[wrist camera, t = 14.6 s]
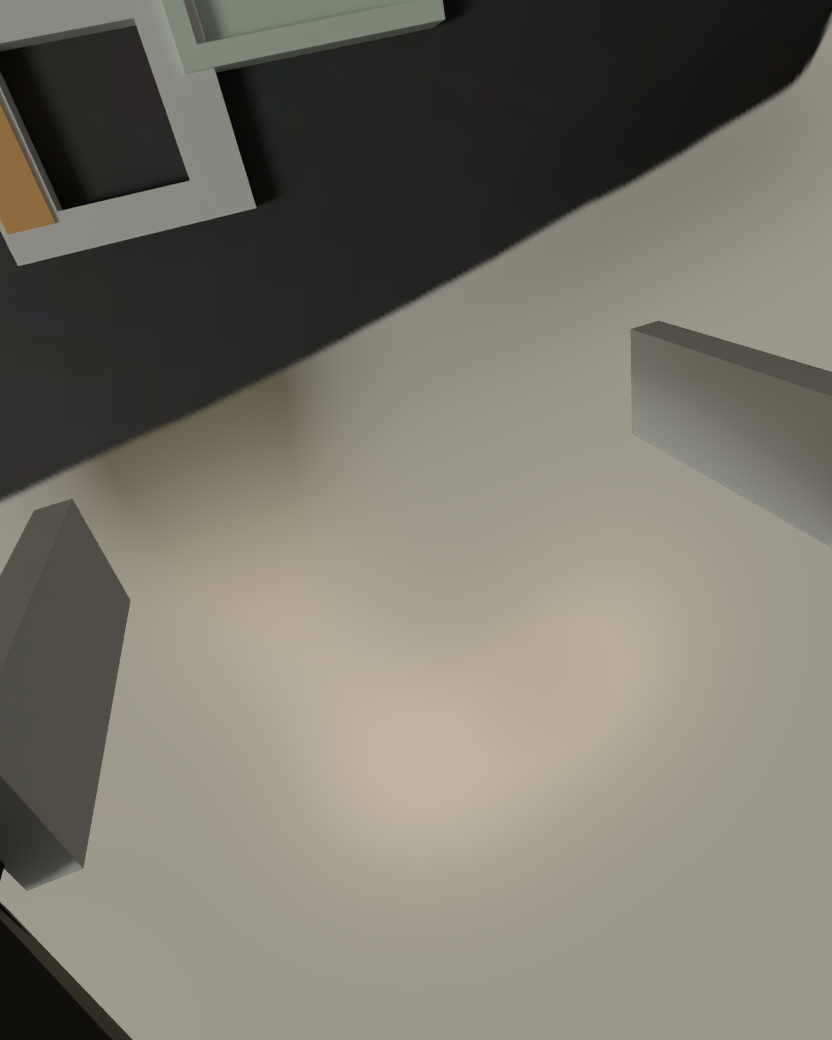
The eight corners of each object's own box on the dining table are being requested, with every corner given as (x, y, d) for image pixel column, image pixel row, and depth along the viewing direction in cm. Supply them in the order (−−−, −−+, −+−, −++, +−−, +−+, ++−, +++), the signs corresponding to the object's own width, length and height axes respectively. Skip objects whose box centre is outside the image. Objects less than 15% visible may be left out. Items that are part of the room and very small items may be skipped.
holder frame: (180, -37, 30) (179, -49, 29) (254, 207, 36) (256, 207, 35) (-100, 13, 28) (-117, 3, 27) (25, 262, 34) (17, 266, 33)
